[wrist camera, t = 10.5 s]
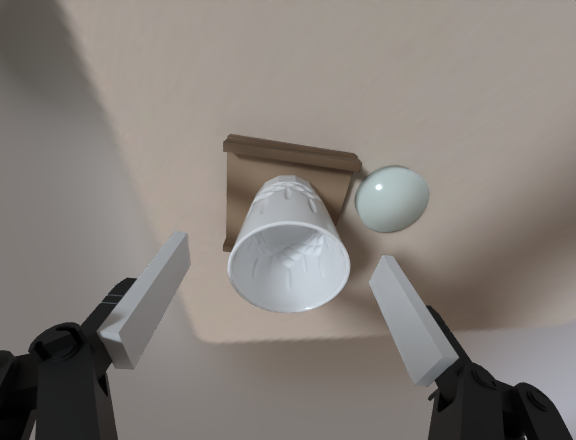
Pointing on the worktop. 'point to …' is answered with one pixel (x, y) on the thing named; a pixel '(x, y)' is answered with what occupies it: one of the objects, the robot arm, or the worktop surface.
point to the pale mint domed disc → (391, 198)
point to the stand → (281, 161)
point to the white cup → (288, 249)
